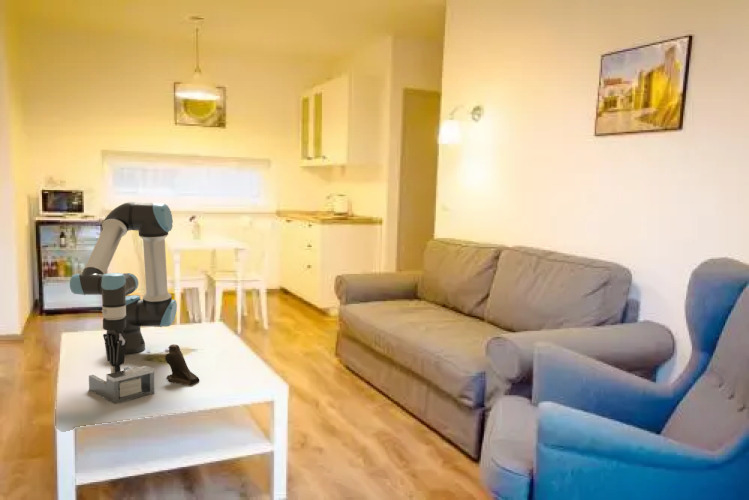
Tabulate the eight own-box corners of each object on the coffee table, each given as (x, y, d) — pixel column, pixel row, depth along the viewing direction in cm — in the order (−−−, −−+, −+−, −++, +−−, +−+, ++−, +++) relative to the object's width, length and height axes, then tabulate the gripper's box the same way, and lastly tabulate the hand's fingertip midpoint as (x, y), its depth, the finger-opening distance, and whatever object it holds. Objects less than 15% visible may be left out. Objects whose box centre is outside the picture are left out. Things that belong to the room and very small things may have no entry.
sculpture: (173, 376, 220) (172, 342, 219) (200, 381, 215) (199, 346, 213) (162, 380, 215) (161, 346, 213) (189, 386, 210) (189, 350, 208)
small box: (109, 391, 199) (108, 377, 198) (131, 386, 205) (131, 372, 204) (119, 397, 194) (119, 383, 193) (142, 392, 200) (141, 377, 199)
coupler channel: (89, 389, 203) (88, 365, 202) (127, 380, 214) (127, 357, 213) (114, 403, 191) (113, 378, 190) (154, 393, 202) (153, 368, 201)
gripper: (95, 315, 204) (96, 380, 207) (112, 322, 196) (114, 389, 198) (115, 312, 210) (117, 375, 212) (134, 318, 201) (135, 384, 204)
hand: (116, 382), depth 205 cm, fingers closed
